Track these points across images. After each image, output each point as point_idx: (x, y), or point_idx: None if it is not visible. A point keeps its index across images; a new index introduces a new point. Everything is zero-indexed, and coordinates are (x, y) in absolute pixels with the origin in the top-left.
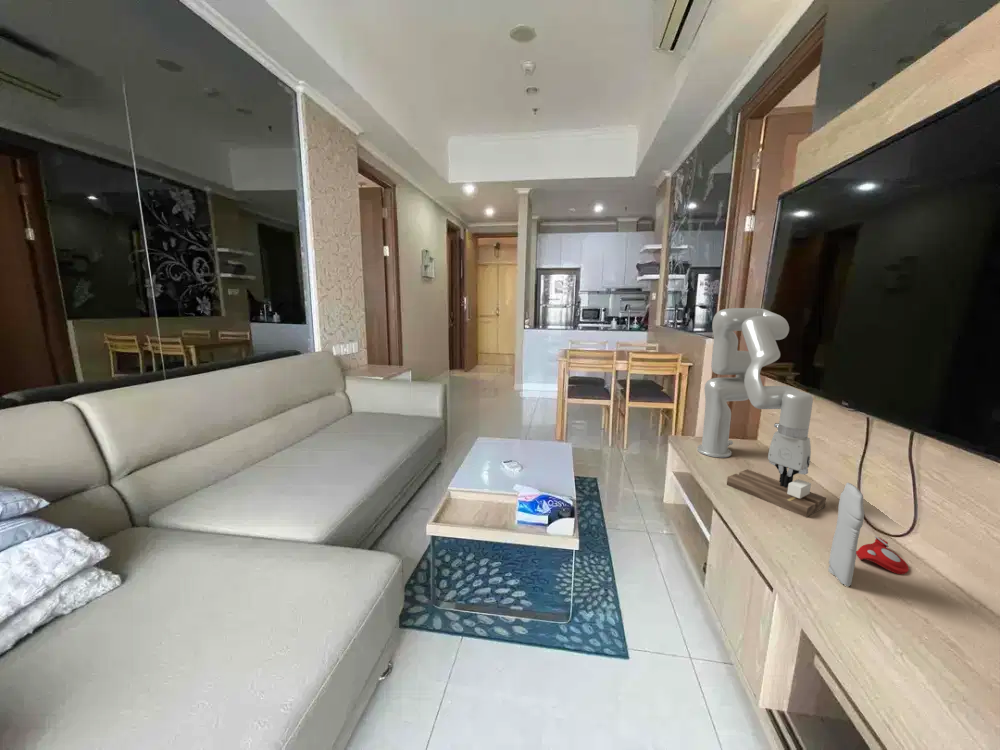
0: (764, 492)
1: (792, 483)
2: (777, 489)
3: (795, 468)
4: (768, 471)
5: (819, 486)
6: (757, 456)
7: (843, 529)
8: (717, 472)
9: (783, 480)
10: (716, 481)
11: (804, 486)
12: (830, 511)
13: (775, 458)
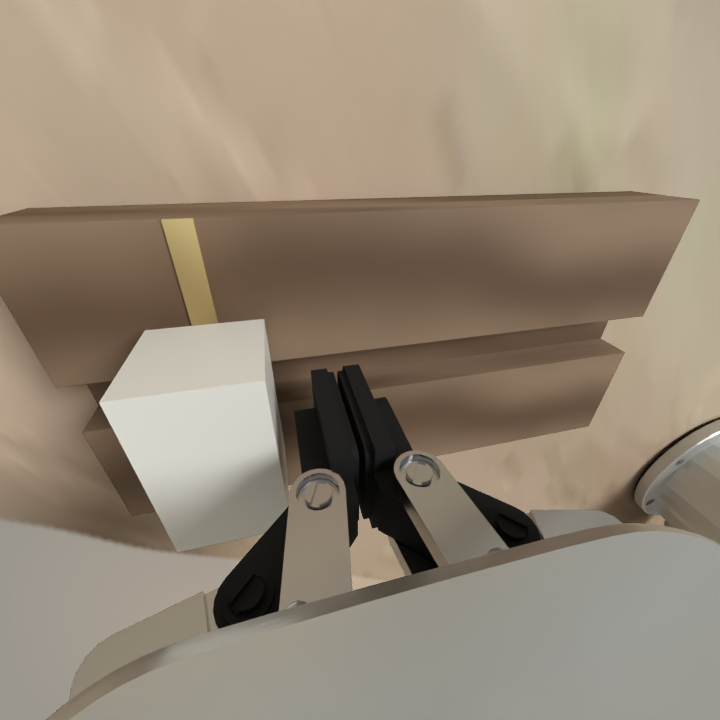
0: (406, 208)
1: (243, 414)
2: (365, 344)
3: (150, 706)
4: None
5: None
6: None
7: None
8: (682, 310)
9: (350, 407)
10: (691, 178)
11: (132, 462)
12: (88, 443)
13: (703, 671)
